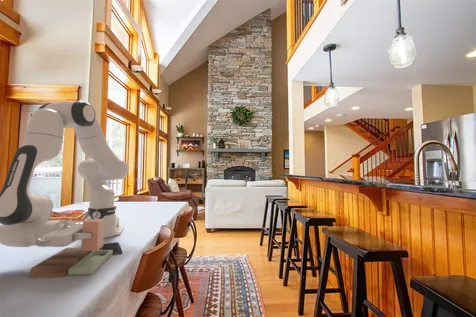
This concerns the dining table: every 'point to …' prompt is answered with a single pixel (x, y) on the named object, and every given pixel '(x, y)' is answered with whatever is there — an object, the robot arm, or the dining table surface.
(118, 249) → the phone
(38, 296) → the dining table surface
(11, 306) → the dining table surface
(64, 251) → the platform
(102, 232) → the terracotta block
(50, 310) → the dining table surface
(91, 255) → the box
